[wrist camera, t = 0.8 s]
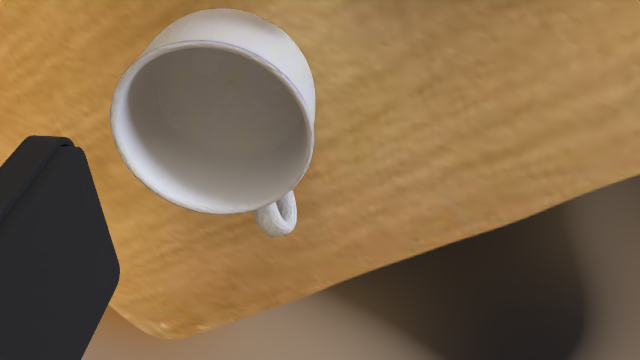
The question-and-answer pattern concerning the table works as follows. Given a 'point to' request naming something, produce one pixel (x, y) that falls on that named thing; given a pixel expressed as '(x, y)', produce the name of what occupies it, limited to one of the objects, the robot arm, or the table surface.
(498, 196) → the table surface
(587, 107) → the table surface
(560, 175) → the table surface
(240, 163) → the teacup
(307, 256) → the table surface
